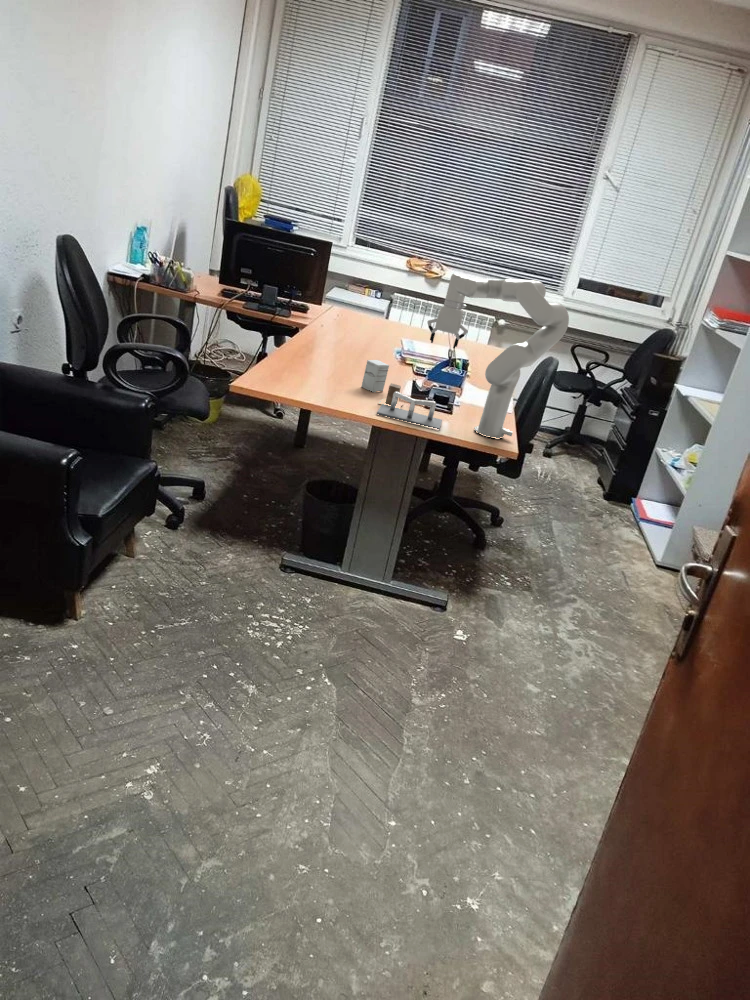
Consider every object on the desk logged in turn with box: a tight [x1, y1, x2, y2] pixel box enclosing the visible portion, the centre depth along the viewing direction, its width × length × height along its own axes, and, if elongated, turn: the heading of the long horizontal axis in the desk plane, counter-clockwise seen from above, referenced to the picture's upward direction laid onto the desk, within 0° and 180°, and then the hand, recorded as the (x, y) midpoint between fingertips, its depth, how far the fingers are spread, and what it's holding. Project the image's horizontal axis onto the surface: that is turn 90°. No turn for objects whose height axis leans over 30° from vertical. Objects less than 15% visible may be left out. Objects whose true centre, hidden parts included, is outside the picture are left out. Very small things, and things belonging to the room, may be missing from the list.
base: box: [376, 404, 443, 430], centre depth 310 cm, size 26×13×1 cm, turn 81°
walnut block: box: [385, 382, 402, 405], centre depth 321 cm, size 4×4×8 cm
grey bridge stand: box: [390, 392, 437, 420], centre depth 308 cm, size 18×7×8 cm, turn 81°
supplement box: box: [361, 359, 390, 393], centre depth 336 cm, size 7×7×13 cm
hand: (442, 345), depth 318 cm, fingers open, 9 cm apart
